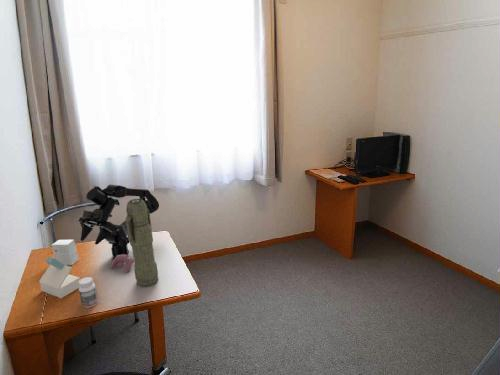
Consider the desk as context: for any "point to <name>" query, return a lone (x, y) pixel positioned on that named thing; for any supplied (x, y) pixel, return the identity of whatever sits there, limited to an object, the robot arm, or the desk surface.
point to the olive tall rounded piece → (141, 242)
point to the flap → (55, 273)
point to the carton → (63, 287)
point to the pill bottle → (88, 292)
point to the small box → (65, 251)
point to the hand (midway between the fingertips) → (88, 242)
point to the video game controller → (119, 261)
